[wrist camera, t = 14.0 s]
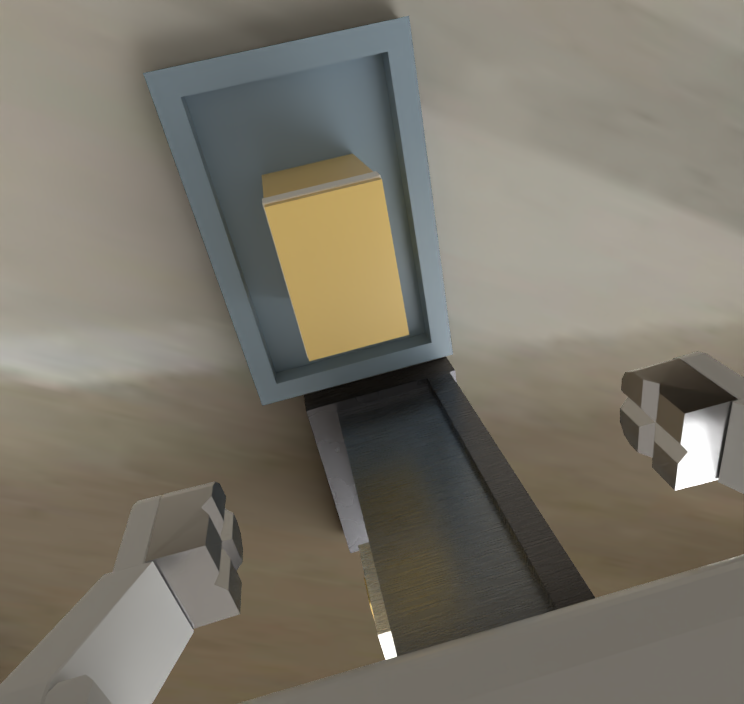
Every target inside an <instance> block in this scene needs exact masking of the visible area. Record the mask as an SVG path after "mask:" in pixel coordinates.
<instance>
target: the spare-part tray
mask: <svg viewBox="0 0 744 704" xmlns="http://www.w3.org/2000/svg"><path fill="white" fill-rule="evenodd" d="M143 74H144V77H145V80H146V83H147V85H148V88H149V91H150V94H151V97H152V99H153V102H154V105H155V108H156V111H157V113H158V116H159V119H160V122H161V124H162V127H163V130H164V133H165V136H166V138H167V141H168V144H169V147H170V150H171V152H172V155H173V158H174V161H175V163H176V166H177V169H178V172H179V175H180V177H181V180H182V183H183V186H184V189H185V191H186V194H187V197H188V200H189V202H190V205H191V208H192V211H193V214H194V216H195V219H196V222H197V225H198V228H199V230H200V233H201V236H202V239H203V241H204V244H205V247H206V250H207V253H208V255H209V258H210V261H211V264H212V266H213V269H214V272H215V275H216V278H217V280H218V283H219V286H220V289H221V292H222V294H223V297H224V300H225V303H226V305H227V308H228V311H229V314H230V317H231V319H232V322H233V325H234V328H235V331H236V333H237V336H238V339H239V342H240V344H241V347H242V350H243V353H244V356H245V358H246V361H247V364H248V367H249V370H250V372H251V375H252V378H253V381H254V383H255V386H256V389H257V392H258V395H259V397H260V400H261V403H262V406H263V405H267V404H270V403H274V402H278V401H282V400H285V399H289V398H293V397H296V396H300V395H304V394H307V393H311V392H315V391H319V390H322V389H326V388H330V387H333V386H337V385H341V384H345V383H348V382H352V381H356V380H359V379H363V378H367V377H371V376H374V375H378V374H382V373H385V372H389V371H393V370H397V369H400V368H404V367H408V366H411V365H415V364H419V363H422V362H426V361H430V360H434V359H437V358H441V357H445V356H448V355H452V354H453V351H452V343H451V336H450V328H449V320H448V313H447V305H446V297H445V289H444V282H443V274H442V266H441V259H440V251H439V243H438V236H437V228H436V220H435V212H434V205H433V197H432V189H431V182H430V174H429V166H428V158H427V151H426V143H425V135H424V128H423V120H422V112H421V105H420V97H419V89H418V81H417V74H416V66H415V58H414V51H413V43H412V35H411V28H410V20H409V16H406V17H402V18H397V19H392V20H388V21H383V22H378V23H374V24H369V25H364V26H360V27H355V28H351V29H346V30H341V31H337V32H332V33H327V34H323V35H318V36H313V37H309V38H304V39H300V40H295V41H290V42H286V43H281V44H276V45H272V46H267V47H262V48H258V49H253V50H249V51H244V52H239V53H235V54H230V55H225V56H221V57H216V58H211V59H207V60H202V61H198V62H193V63H188V64H184V65H179V66H174V67H170V68H165V69H160V70H156V71H151V72H147V73H143ZM349 154H354V155H355V156H356V157H357V158H358V159H359V160H361V161H362V162H363V163H364V164H365V165H366V166H367V167H369V168H370V169H371V170H372V171H373V172H374V171H376V172H377V173H379V174H380V175H381V179H382V183H383V188H384V194H385V200H386V205H387V211H388V217H389V222H390V228H391V234H392V239H393V245H394V251H395V256H396V262H397V268H398V273H399V279H400V285H401V291H402V296H403V302H404V308H405V313H406V319H407V325H408V330H409V335H406V336H403V337H399V338H395V339H391V340H388V341H384V342H380V343H376V344H373V345H369V346H365V347H361V348H358V349H354V350H350V351H346V352H343V353H339V354H335V355H331V356H328V357H324V358H320V359H316V360H313V361H309V359H308V358H307V355H306V351H305V348H304V344H303V341H302V338H301V334H300V331H299V327H298V324H297V321H296V317H295V314H294V310H293V307H292V304H291V300H290V297H289V293H288V290H287V286H286V283H285V280H284V276H283V273H282V269H281V266H280V263H279V259H278V256H277V252H276V249H275V245H274V242H273V239H272V235H271V232H270V228H269V225H268V222H267V218H266V215H265V211H264V208H263V204H262V198H264V197H263V185H262V175H264V174H268V173H273V172H277V171H281V170H285V169H289V168H294V167H298V166H302V165H306V164H311V163H315V162H319V161H323V160H327V159H332V158H336V157H340V156H344V155H349Z"/></svg>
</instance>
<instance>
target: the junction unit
mask: <svg viewBox="0 0 744 704" xmlns="http://www.w3.org/2000/svg"><path fill="white" fill-rule="evenodd" d="M304 399H305V406H306V411H307V415H308V418H309V421H310V424H311V428H312V431H313V434H314V437H315V440H316V444H317V447H318V450H319V453H320V457H321V460H322V463H323V466H324V469H325V473H326V476H327V479H328V482H329V486H330V489H331V492H332V495H333V499H334V502H335V505H336V508H337V511H338V515H339V518H340V521H341V524H342V528H343V531H344V534H345V537H346V540H347V544H348V547H349V550H350V553H352V552H356V551H359V552H360V556H361V561H362V565H363V570H364V574H365V577H364V580H365V585H366V589H367V594H368V599H369V603H370V606H371V610H372V613H373V616H374V620H375V624H376V629H377V633H378V637H379V640H380V643H381V647H382V650H383V653H384V657H385V660H387V659H390V658H394V657H397V656H400V655H404V654H407V653H411V652H414V651H417V650H421V649H424V648H428V647H431V646H434V645H438V644H441V643H445V642H448V641H451V640H455V639H458V638H462V637H465V636H468V635H472V634H475V633H479V632H482V631H485V630H489V629H492V628H496V627H499V626H502V625H506V624H509V623H513V622H516V621H519V620H523V619H526V618H530V617H533V616H536V615H540V614H543V613H547V612H550V611H553V610H557V609H560V608H564V607H567V606H570V605H574V604H577V603H581V602H584V601H587V600H591V599H594V598H595V597H594V595H593V594H592V592H591V591H590V589H589V588H588V586H587V584H586V583H585V581H584V580H583V578H582V577H581V575H580V574H579V572H578V570H577V569H576V567H575V566H574V564H573V563H572V561H571V560H570V558H569V557H568V555H567V553H566V552H565V550H564V549H563V547H562V546H561V544H560V543H559V541H558V539H557V538H556V536H555V535H554V533H553V532H552V530H551V529H550V527H549V525H548V524H547V522H546V521H545V519H544V518H543V516H542V515H541V513H540V512H539V510H538V508H537V507H536V505H535V504H534V502H533V501H532V499H531V498H530V496H529V494H528V493H527V491H526V490H525V488H524V487H523V485H522V484H521V482H520V480H519V479H518V477H517V476H516V474H515V473H514V471H513V470H512V468H511V467H510V465H509V463H508V462H507V460H506V459H505V457H504V456H503V454H502V453H501V451H500V449H499V448H498V446H497V445H496V443H495V442H494V440H493V439H492V437H491V435H490V434H489V432H488V431H487V429H486V428H485V426H484V425H483V423H482V422H481V420H480V418H479V417H478V415H477V414H476V412H475V411H474V409H473V408H472V406H471V404H470V403H469V401H468V400H467V398H466V397H465V395H464V394H463V392H462V390H461V389H460V387H459V386H458V384H457V382H456V374H455V370H454V368H453V367H452V365H451V364H450V362H449V361H448V359H447V358H446V357H444V358H440V359H437V360H433V361H429V362H425V363H422V364H418V365H414V366H411V367H407V368H403V369H399V370H396V371H392V372H388V373H385V374H381V375H377V376H374V377H370V378H366V379H362V380H359V381H355V382H351V383H348V384H344V385H340V386H336V387H333V388H329V389H325V390H322V391H318V392H314V393H310V394H307V395H304Z"/></svg>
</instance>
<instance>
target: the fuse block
mask: <svg viewBox="0 0 744 704" xmlns="http://www.w3.org/2000/svg"><path fill="white" fill-rule="evenodd" d="M262 185H263V197H264V198H262V204H263V208H264V211H265V215H266V218H267V222H268V225H269V228H270V232H271V235H272V239H273V242H274V245H275V249H276V252H277V256H278V259H279V263H280V266H281V269H282V273H283V276H284V280H285V283H286V286H287V290H288V293H289V297H290V300H291V304H292V307H293V310H294V314H295V317H296V321H297V324H298V327H299V331H300V334H301V338H302V341H303V344H304V348H305V351H306V355H307V358H308V359H309V361H313V360H316V359H320V358H324V357H328V356H331V355H335V354H339V353H343V352H346V351H350V350H354V349H358V348H361V347H365V346H369V345H373V344H376V343H380V342H384V341H388V340H391V339H395V338H399V337H403V336H406V335H409V330H408V325H407V319H406V313H405V308H404V302H403V296H402V291H401V285H400V279H399V273H398V268H397V262H396V256H395V251H394V245H393V239H392V234H391V228H390V222H389V217H388V211H387V205H386V200H385V194H384V188H383V183H382V179H381V175H380V174H379V173H377V172H376V171H374V172H373V171H372V170H371V169H370V168H369V167H367V166H366V165H365V164H364V163H363V162H362V161H361V160H359V159H358V158H357V157H356V156H355V155H354V154H349V155H344V156H340V157H336V158H332V159H327V160H323V161H319V162H315V163H311V164H306V165H302V166H298V167H294V168H289V169H285V170H281V171H277V172H273V173H268V174H264V175H262Z"/></svg>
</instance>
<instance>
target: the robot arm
mask: <svg viewBox="0 0 744 704" xmlns="http://www.w3.org/2000/svg"><path fill="white" fill-rule="evenodd" d="M621 390H622V391H623V392H624V393H625V394H626V395H627V397H628V398H627V399H626V400H625V402H624V403H623V405H622V406H621V408H620V423H621V426H622V429H623V433H624V435H625V437H626V439H627V440H628V442H629V443H630V445H631V446H632V447H633V448H634V449H635V450H636V451H637V452H638V453H641V454H644V455H646V456H649V457H652V468H653V469H654V470H655V471H656V472H657V473H658V474H659V475H660V476H661V477H662V478H663V479H664V480H665V481H666V482H667V483H668V484H669V485H670V486H671V487H672V488H673V489H674V490H679V489H683V488H687V487H691V486H695V485H699V484H703V483H707V482H711V481H715V480H718V482H719V483H721V484H724V485H726V486H728V487H730V488H732V489H734V490H737V491H739V492H741V493H743V494H744V377H742V376H740V375H739V374H737V373H736V372H734V371H733V370H731V369H730V368H728V367H726V366H725V365H723V364H722V363H720V362H719V361H717V360H716V359H714V358H712V357H711V356H709V355H708V354H706V353H703V352H698V351H697V352H694V353H690V354H687V355H683V356H680V357H677V358H673V359H672V360H669V361H665V362H661V363H658V364H654V365H650V366H647V367H643V368H639V369H636V370H632V371H628V372H625V374H624V376H623V378H622V385H621ZM225 502H226V496H225V494H224V492H223V490H222V488H221V486H220V484H219V483H217V482H212V483H208V484H204V485H199V486H195V487H191V488H187V489H183V490H179V491H175V492H171V493H167V494H164V495H160V496H156V497H152V498H148V499H144V500H140V501H137V502H136V503H135V504H134V505H133V507H132V509H131V512H130V516H129V519H128V522H127V526H126V529H125V532H124V535H123V539H122V542H121V545H120V549H119V552H118V555H117V559H116V562H115V565H114V568H113V572H111V573H108V574H104V575H103V576H102V577H101V578H100V579H99V580H98V582H97V583H96V584H95V585H94V586H93V587H92V588H91V589H90V590H89V591H88V592H87V593H86V594H85V595H84V596H83V597H82V598H81V600H80V601H79V602H78V603H77V604H76V605H75V606H74V607H73V608H72V609H71V610H70V611H69V612H68V613H67V614H66V615H65V617H64V618H63V619H62V620H61V621H60V622H59V623H58V624H57V625H56V626H55V627H54V628H53V629H52V630H51V631H50V632H49V634H48V635H47V636H46V637H45V638H44V639H43V640H42V641H41V642H40V643H39V644H38V645H37V646H36V647H35V648H34V649H33V650H32V652H31V653H30V654H29V655H28V656H27V657H26V658H25V659H24V660H23V661H22V662H21V663H20V664H19V665H18V666H17V667H16V669H15V670H14V671H13V672H12V673H11V674H10V675H9V676H8V677H7V678H6V679H5V680H4V681H3V682H2V683H1V684H0V704H152V703H153V701H154V699H155V698H156V696H157V694H158V692H159V691H160V689H161V687H162V685H163V684H164V682H165V680H166V679H167V677H168V675H169V673H170V672H171V670H172V668H173V667H174V665H175V663H176V661H177V660H178V658H179V656H180V654H181V653H182V651H183V649H184V648H185V646H186V644H187V642H188V641H189V639H190V637H191V636H192V634H193V632H194V630H193V629H194V628H197V627H200V626H204V625H207V624H210V623H213V622H216V621H219V620H223V619H226V618H229V617H232V616H235V615H239V614H240V605H241V584H242V582H241V580H240V578H239V576H238V573H237V569H238V568H239V566H240V565H241V563H242V560H243V547H242V540H241V533H240V530H239V526H238V523H237V520H236V518H235V516H234V513H232V512H230V511H228V510H226V509H225ZM238 704H744V554H743V555H740V556H737V557H733V558H730V559H726V560H723V561H720V562H716V563H713V564H709V565H706V566H703V567H699V568H696V569H692V570H689V571H686V572H682V573H679V574H675V575H672V576H669V577H665V578H662V579H659V580H655V581H652V582H648V583H645V584H642V585H638V586H635V587H631V588H628V589H625V590H621V591H618V592H614V593H611V594H608V595H604V596H601V597H598V598H594V599H591V600H587V601H584V602H581V603H577V604H574V605H570V606H567V607H564V608H560V609H557V610H553V611H550V612H547V613H543V614H540V615H536V616H533V617H530V618H526V619H523V620H519V621H516V622H513V623H509V624H506V625H502V626H499V627H496V628H492V629H489V630H485V631H482V632H479V633H475V634H472V635H468V636H465V637H462V638H458V639H455V640H451V641H448V642H445V643H441V644H438V645H434V646H431V647H428V648H424V649H421V650H417V651H414V652H411V653H407V654H404V655H400V656H397V657H394V658H390V659H387V660H384V661H380V662H377V663H373V664H370V665H367V666H363V667H360V668H356V669H353V670H350V671H346V672H343V673H339V674H336V675H333V676H329V677H326V678H322V679H319V680H316V681H312V682H309V683H305V684H302V685H299V686H295V687H292V688H289V689H285V690H282V691H278V692H275V693H272V694H268V695H265V696H261V697H258V698H255V699H251V700H248V701H244V702H241V703H238Z"/></svg>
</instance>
